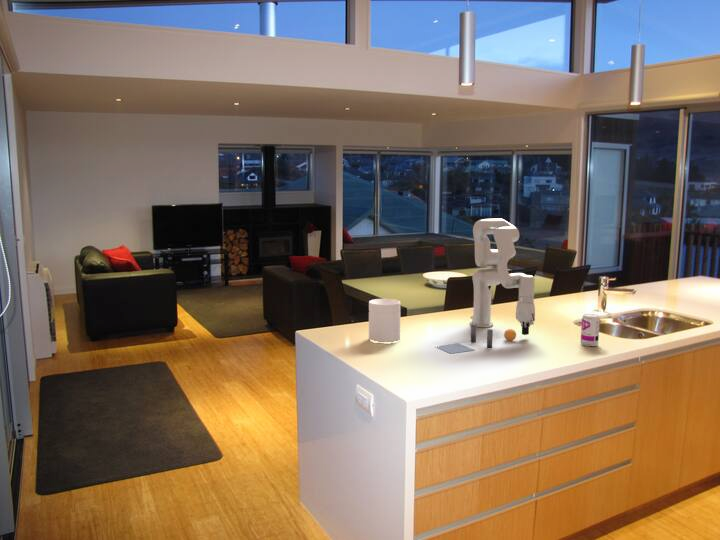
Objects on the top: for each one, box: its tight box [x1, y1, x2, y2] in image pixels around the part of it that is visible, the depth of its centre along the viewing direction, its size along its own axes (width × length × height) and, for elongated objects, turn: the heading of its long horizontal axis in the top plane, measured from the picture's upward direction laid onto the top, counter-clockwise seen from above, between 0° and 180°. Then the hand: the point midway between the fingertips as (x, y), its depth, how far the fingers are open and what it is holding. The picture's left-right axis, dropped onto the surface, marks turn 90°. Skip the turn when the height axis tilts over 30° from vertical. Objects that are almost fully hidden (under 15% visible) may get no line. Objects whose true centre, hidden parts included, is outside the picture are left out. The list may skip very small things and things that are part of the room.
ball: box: [503, 328, 517, 342], centre depth 320 cm, size 6×6×6 cm
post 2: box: [486, 328, 494, 349], centre depth 306 cm, size 3×3×9 cm
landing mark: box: [436, 342, 475, 355], centre depth 306 cm, size 14×14×1 cm
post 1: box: [470, 324, 477, 343], centre depth 318 cm, size 3×3×9 cm
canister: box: [368, 298, 402, 342], centre depth 320 cm, size 16×16×20 cm
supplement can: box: [580, 313, 601, 347], centre depth 312 cm, size 8×8×15 cm
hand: (525, 334), depth 324 cm, fingers closed
